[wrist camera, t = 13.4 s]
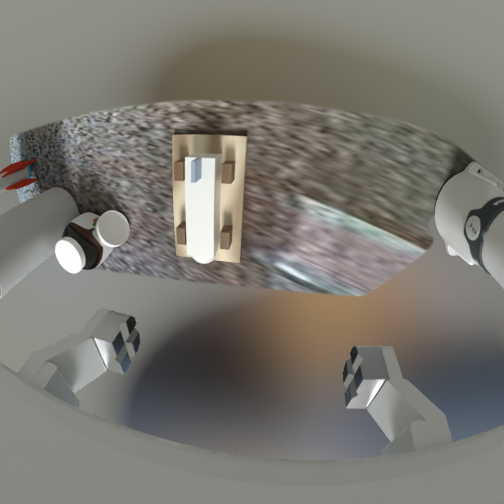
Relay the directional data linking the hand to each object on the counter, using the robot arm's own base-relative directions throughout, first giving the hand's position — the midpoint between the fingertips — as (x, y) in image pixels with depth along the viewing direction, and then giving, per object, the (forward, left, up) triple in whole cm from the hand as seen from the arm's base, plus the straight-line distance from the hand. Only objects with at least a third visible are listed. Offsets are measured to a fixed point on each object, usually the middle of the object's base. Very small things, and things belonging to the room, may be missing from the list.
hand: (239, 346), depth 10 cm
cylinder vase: (+46, +11, -37) cm, 60 cm away
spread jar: (+33, +14, -37) cm, 52 cm away
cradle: (+11, +7, -37) cm, 39 cm away
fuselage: (+11, +8, -36) cm, 39 cm away
